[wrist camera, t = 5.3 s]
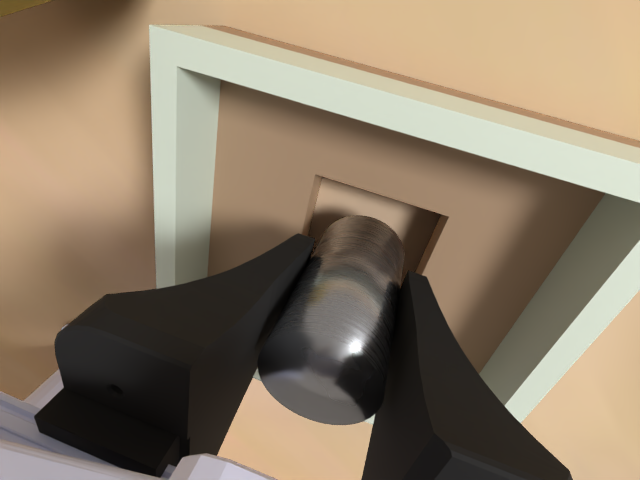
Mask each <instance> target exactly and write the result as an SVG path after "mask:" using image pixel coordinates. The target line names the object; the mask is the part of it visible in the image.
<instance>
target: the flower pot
mask: <svg viewBox="0 0 640 480" xmlns="http://www.w3.org/2000/svg"><path fill="white" fill-rule="evenodd" d="M50 1H53V0H0V17H2V16H5V15H8V14H11V13H14V12H18V11H21V10H24V9H27V8H30V7H33V6H37V5H40V4H43V3H47V2H50Z"/></svg>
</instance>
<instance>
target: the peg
mask: <svg viewBox="0 0 640 480" xmlns="http://www.w3.org/2000/svg"><path fill="white" fill-rule="evenodd" d="M403 265H404V248H403V245H402V242H401V240H400V238H399V237H398V235H397V234H396V233H395V232H394V231H393V230H392V229H391V228H390V227H389V226H388V225H386V224H385V223H383V222H381V221H379V220H377V219H375V218H372V217H367V216H348V217H344V218H342V219H339V220H337V221H336V222H334V223H333V224H331V225H330V226H329V227H328V228H327V230H326V231H325V233H324V234H323V236H322V238H321V240H320V242H319V244H318V245H317V247H316V249H315V251H314V253H313V255H312V257H311V258H310V260H309V262H308V264H307V266H306V268H305V269H304V271H303V273H302V275H301V277H300V279H299V281H298V282H297V284H296V286H295V288H294V290H293V292H292V294H291V295H290V297H289V299H288V301H287V303H286V305H285V307H284V308H283V310H282V312H281V314H280V316H279V318H278V320H277V321H276V323H275V325H274V327H273V329H272V331H271V333H270V334H269V336H268V338H267V340H266V342H265V344H264V346H263V347H262V349H261V351H260V353H259V356H258V361H257V367H258V373H259V376H260V379H261V381H262V383H263V384H264V386H265V388H266V389H267V390H268V392H269V393H270V394H271V395H272V396H273V397H274V398H275V399H276V400H277V401H278V402H279V403H281V404H282V405H283V406H285V407H286V408H287V409H289V410H291V411H292V412H294V413H296V414H298V415H300V416H302V417H305V418H307V419H310V420H313V421H316V422H320V423H325V424H331V425H350V424H356V423H360V422H362V421H365V420H367V419H369V418H371V417H372V416H373V415H374V414H376V413H377V411H378V410H379V409H380V407H381V405H382V403H383V400H384V393H385V387H386V380H387V373H388V366H389V359H390V353H391V346H392V339H393V332H394V326H395V319H396V312H397V305H398V298H399V292H400V285H401V278H402V271H403Z"/></svg>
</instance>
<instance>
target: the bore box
mask: <svg viewBox="0 0 640 480" xmlns="http://www.w3.org/2000/svg"><path fill="white" fill-rule="evenodd" d="M149 38H150V76H151V113H152V150H153V187H154V224H155V261H156V289H158V288H164V287H170V286H174V285H179V284H184V283H188V282H191V281H195V280H199V279H202V278H206V277H210V276H213V275H216V274H219V273H222V272H224V271H227V270H230V269H232V268H235V267H237V266H239V265H241V264H243V263H245V262H248V261H250V260H252V259H254V258H256V257H258V256H260V255H261V254H263V253H265V252H267V251H269V250H270V249H272V248H274V247H276V246H277V245H279V244H281V243H282V242H284V241H286V240H287V239H289V238H290V237H292V236H294V235H295V234H298V233H299V234H302V235H305V236H308V233H309V229H310V225H311V221H312V217H313V212H314V208H315V204H316V200H317V196H318V191H319V187H320V183H321V179H322V177H325V178H329V179H332V180H335V181H338V182H341V183H344V184H348V185H351V186H354V187H357V188H360V189H363V190H366V191H370V192H373V193H376V194H379V195H382V196H385V197H389V198H392V199H395V200H398V201H401V202H404V203H408V204H411V205H414V206H417V207H420V208H423V209H426V210H430V211H433V212H436V213H439V214H441V216H440V218H439V220H438V223H437V225H436V227H435V229H434V231H433V234H432V236H431V238H430V240H429V243H428V245H427V247H426V249H425V251H424V254H423V256H422V258H421V260H420V262H419V265H418V267H417V269H416V271H415V273H417V274H420V275H423V276H426V277H427V278H428V281H429V283H430V285H431V288H432V290H433V293H434V295H435V297H436V300H437V302H438V304H439V307H440V309H441V311H442V313H443V315H444V317H445V319H446V321H447V324H448V326H449V328H450V329H451V331H452V333H453V335H454V337H455V338H456V340H457V342H458V344H459V345H460V347H461V349H462V350H463V352H464V353H465V355H466V356H467V358H468V359H469V361H470V362H471V364H472V365H473V367H474V368H475V370H476V371H477V372H478V374H479V375H480V376H481V378H482V379H483V380H484V382H485V383H486V384H487V386H488V387H489V388H490V389H491V390H492V392H493V393H494V394H495V395H496V397H497V398H498V399H499V400H500V401H501V403H502V404H503V405H504V406H505V407H506V408H507V409H508V411H509V412H510V413H511V414H512V415H513V416H514V417H515V418H516V419H517V420H518V421H519V422H520V423H521V422H522V421H523V420H524V419H525V418H526V416H527V415H528V414H529V413H530V412H531V411H532V410H533V409H534V408H535V406H536V405H537V404H538V403H539V402H540V401H541V400H542V399H543V397H544V396H545V395H546V394H547V393H548V392H549V391H550V390H551V389H552V387H553V386H554V385H555V384H556V383H557V382H558V381H559V380H560V378H561V377H562V376H563V375H564V374H565V373H566V372H567V371H568V369H569V368H570V367H571V366H572V365H573V364H574V363H575V362H576V361H577V359H578V358H579V357H580V356H581V355H582V354H583V353H584V352H585V350H586V349H587V348H588V347H589V346H590V345H591V344H592V343H593V342H594V340H595V339H596V338H597V337H598V336H599V335H600V334H601V333H602V331H603V330H604V329H605V328H606V327H607V326H608V325H609V324H610V322H611V321H612V320H613V319H614V318H615V317H616V316H617V315H618V314H619V312H620V311H621V310H622V309H623V308H624V307H625V306H626V305H627V303H628V302H629V301H630V300H631V299H632V298H633V297H634V296H635V295H636V293H637V292H638V291H639V290H640V141H637V140H633V139H630V138H626V137H623V136H619V135H615V134H612V133H608V132H605V131H601V130H597V129H594V128H590V127H587V126H583V125H579V124H576V123H572V122H569V121H565V120H561V119H558V118H554V117H551V116H547V115H543V114H540V113H536V112H533V111H529V110H525V109H522V108H518V107H514V106H511V105H507V104H504V103H500V102H496V101H493V100H489V99H486V98H482V97H478V96H475V95H471V94H468V93H464V92H460V91H457V90H453V89H450V88H446V87H442V86H439V85H435V84H432V83H428V82H424V81H421V80H417V79H414V78H410V77H406V76H403V75H399V74H396V73H392V72H388V71H385V70H381V69H377V68H374V67H370V66H367V65H363V64H359V63H356V62H352V61H349V60H345V59H341V58H338V57H334V56H331V55H327V54H323V53H320V52H316V51H313V50H309V49H305V48H302V47H298V46H295V45H291V44H287V43H284V42H280V41H277V40H273V39H269V38H266V37H262V36H258V35H255V34H251V33H248V32H244V31H240V30H237V29H233V28H230V27H226V26H203V25H149ZM253 378H255V379H257V380H260V381H261V379H260V376H259V373H258V368H257V370H256V372H255V374H254V376H253ZM374 418H375V414H374V415H373V416H372V417H371V418H369V419H367V420H365V422H368V423H370V424H373V423H374Z"/></svg>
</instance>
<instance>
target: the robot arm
mask: <svg viewBox="0 0 640 480" xmlns="http://www.w3.org/2000/svg"><path fill="white" fill-rule="evenodd" d="M314 241H315V239H314V238H311V237H308V236H305V235H302V234H299V233H298V234H295V235H294V236H292V237H290V238H289V239H287V240H286V241H284V242H282V243H281V244H279V245H277V246H276V247H274V248H272V249H270V250H269V251H267V252H265V253H263V254H261V255H260V256H258V257H256V258H254V259H252V260H250V261H248V262H245V263H243V264H241V265H239V266H237V267H235V268H232V269H230V270H227V271H224V272H222V273H219V274H216V275H213V276H210V277H206V278H202V279H199V280H195V281H191V282H188V283H184V284H179V285H174V286H170V287H164V288H158V289H152V290H145V291H136V292H126V293H117V294H106V295H105V296H104V297H102V298H101V299H100V300H98V301H97V302H95V303H94V304H93V305H91V306H90V307H89V308H88V309H87V310H85V311H84V312H83V313H82V314H80V315H79V316H78V317H77V318H76V319H74V320H73V321H72V322H71V323H70V324H66V325H65V326H64V327H62V328H61V331H60V332H59V333H58V334H57V337H56V339H55V354H56V359H57V362H58V366H59V369H58V370H57V371H56V372H55V373H53V374H52V375H51V376H50V377H49V378H48V379H47V380H46V381H45V382H43V383H42V384H41V385H40V386H39V387H38V388H37V389H36V390H35V391H33V392H32V393H31V394H30V395H29V396H28V397H27V398H26V399H25V400H24V401H22V400H20V399H17V398H15V397H13V396H10V395H8V394H6V393H3V392H1V391H0V480H277V479H275V478H273V477H270V476H268V475H266V474H263V473H261V472H258V471H256V470H254V469H251V468H249V467H247V466H244V465H242V464H239V463H237V462H235V461H232V460H230V459H226V458H223V457H219V456H217V454H218V452H219V449H220V447H221V445H222V443H223V441H224V438H225V436H226V434H227V432H228V429H229V427H230V425H231V423H232V421H233V419H234V416H235V414H236V412H237V410H238V408H239V406H240V403H241V401H242V399H243V397H244V395H245V393H246V391H247V389H248V386H249V384H250V382H251V380H252V378H253V376H254V374H255V372H256V370H257V368H258V367H257V361H258V356H259V353H260V351H261V349H262V347H263V346H264V344H265V342H266V340H267V338H268V336H269V334H270V333H271V331H272V329H273V327H274V325H275V323H276V321H277V320H278V318H279V316H280V314H281V312H282V310H283V308H284V307H285V305H286V303H287V301H288V299H289V297H290V295H291V294H292V292H293V290H294V288H295V286H296V284H297V282H298V281H299V279H300V277H301V275H302V273H303V271H304V269H305V268H306V266H307V264H308V262H309V260H310V257H311V253H312V249H313V245H314ZM362 480H573V479H572V476H571V474H570V471H569V470H568V469H567V468H566V467H565V466H564V465H563V464H562V463H561V462H560V461H559V460H558V459H556V458H555V457H554V456H553V455H552V454H551V453H550V452H549V451H548V450H547V449H546V448H545V447H544V446H543V445H542V444H540V443H539V442H538V441H537V440H536V439H535V438H534V437H533V436H532V435H531V434H530V433H529V432H528V431H527V430H526V429H525V428H524V427H523V426H522V424H521V423H520V422H519V421H518V420H517V419H516V418H515V417H514V416H513V415H512V414H511V413H510V412H509V411H508V409H507V408H506V407H505V406H504V405H503V404H502V403H501V401H500V400H499V399H498V398H497V397H496V395H495V394H494V393H493V392H492V390H491V389H490V388H489V387H488V386H487V384H486V383H485V382H484V380H483V379H482V378H481V376H480V375H479V374H478V372H477V371H476V370H475V368H474V367H473V365H472V364H471V362H470V361H469V359H468V358H467V356H466V355H465V353H464V352H463V350H462V349H461V347H460V345H459V344H458V342H457V340H456V338H455V337H454V335H453V333H452V331H451V329H450V328H449V326H448V324H447V321H446V319H445V317H444V315H443V313H442V311H441V309H440V307H439V304H438V302H437V300H436V297H435V295H434V293H433V290H432V288H431V285H430V283H429V281H428V278H427V277H426V276H423V275H420V274H417V273H414V272H411V271H408V273H407V275H406V277H405V279H404V282H403V284H402V286H401V289H400V292H399V298H398V305H397V312H396V319H395V326H394V332H393V339H392V346H391V353H390V359H389V366H388V373H387V380H386V387H385V393H384V400H383V403H382V405H381V407H380V409H379V410H378V411H377V413H376V414H375V418H374V423H373V428H372V433H371V438H370V443H369V447H368V452H367V457H366V461H365V466H364V471H363V476H362Z"/></svg>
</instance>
